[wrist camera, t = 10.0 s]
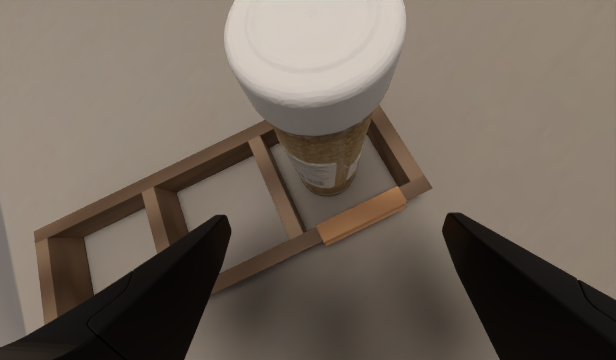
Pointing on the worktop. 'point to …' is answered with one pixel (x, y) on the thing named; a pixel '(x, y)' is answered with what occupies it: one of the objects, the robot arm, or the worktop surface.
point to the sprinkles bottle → (316, 76)
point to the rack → (171, 225)
